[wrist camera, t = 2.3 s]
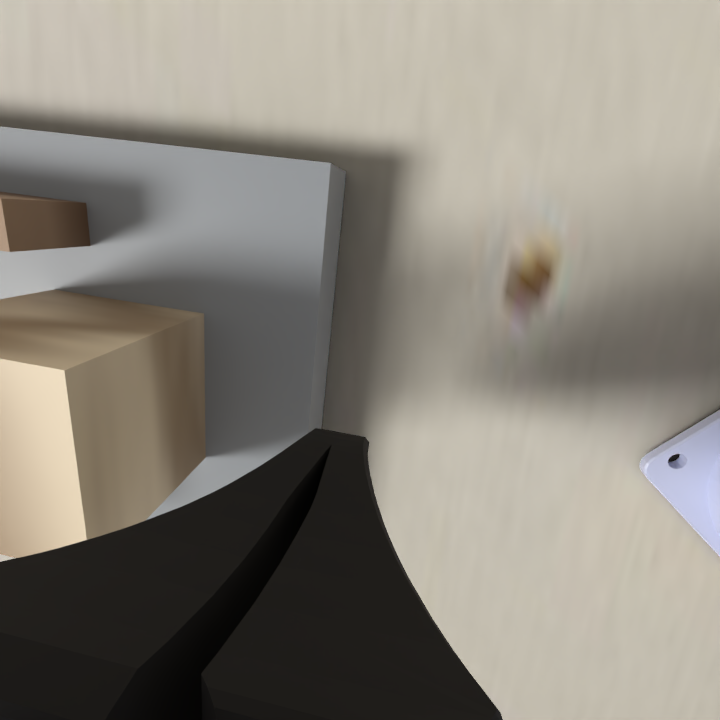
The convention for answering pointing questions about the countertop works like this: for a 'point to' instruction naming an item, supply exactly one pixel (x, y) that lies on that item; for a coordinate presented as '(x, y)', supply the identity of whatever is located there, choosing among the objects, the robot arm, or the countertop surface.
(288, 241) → the deck
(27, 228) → the channel walls
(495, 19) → the countertop surface
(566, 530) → the countertop surface
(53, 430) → the block
